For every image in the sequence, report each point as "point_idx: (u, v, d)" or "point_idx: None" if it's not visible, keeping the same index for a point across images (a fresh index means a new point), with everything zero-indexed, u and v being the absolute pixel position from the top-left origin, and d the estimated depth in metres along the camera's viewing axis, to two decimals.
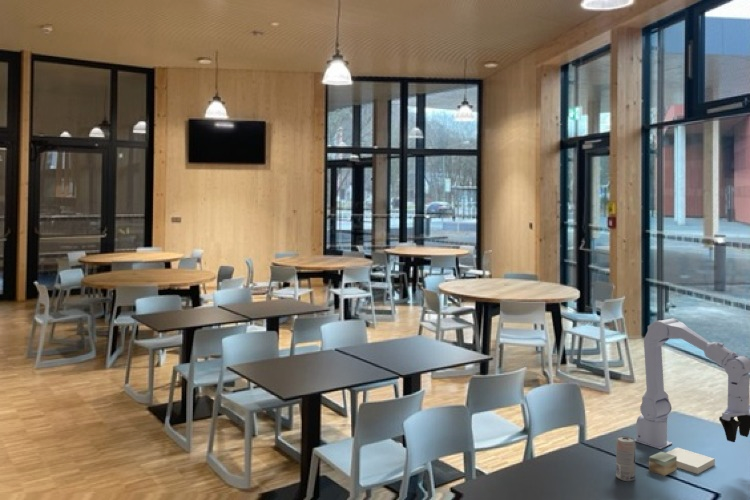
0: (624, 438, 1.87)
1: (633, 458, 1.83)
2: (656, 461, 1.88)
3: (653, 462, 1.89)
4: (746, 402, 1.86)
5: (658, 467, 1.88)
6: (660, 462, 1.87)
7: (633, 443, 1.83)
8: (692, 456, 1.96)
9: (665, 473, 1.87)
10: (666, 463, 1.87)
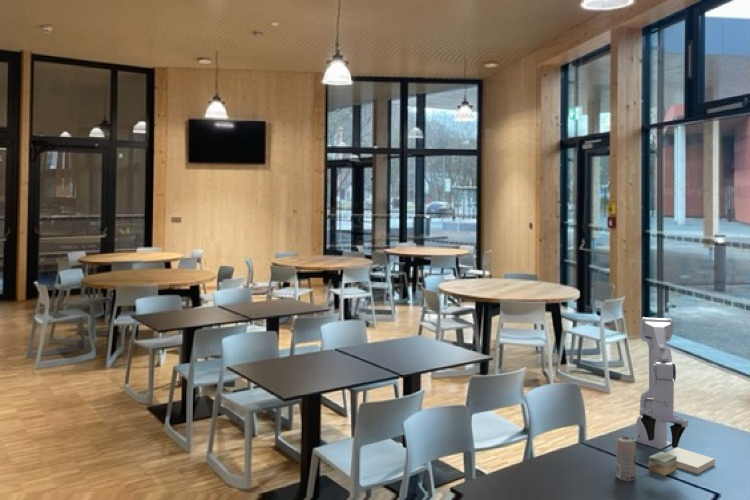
0: (624, 438, 1.87)
1: (633, 458, 1.83)
2: (656, 461, 1.88)
3: (653, 462, 1.89)
4: (656, 406, 1.88)
5: (658, 467, 1.88)
6: (660, 462, 1.87)
7: (633, 443, 1.83)
8: (692, 456, 1.96)
9: (665, 473, 1.87)
10: (666, 463, 1.87)
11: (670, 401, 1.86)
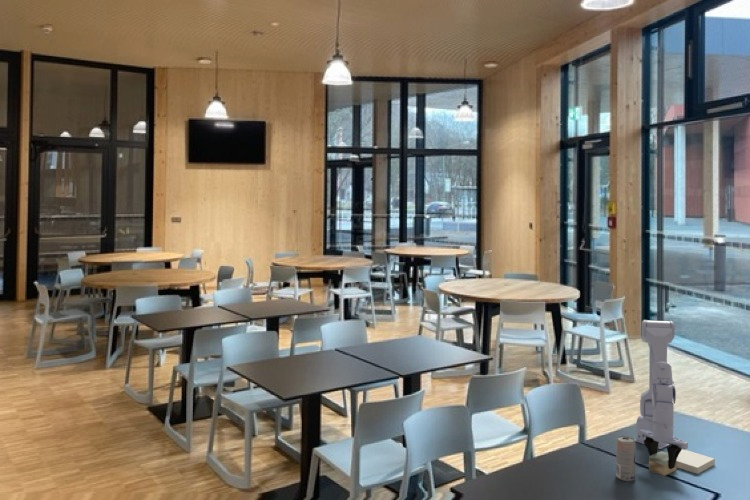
0: (624, 438, 1.87)
1: (633, 458, 1.83)
2: (656, 461, 1.88)
3: (653, 461, 1.89)
4: (656, 428, 1.89)
5: (658, 467, 1.88)
6: (660, 462, 1.87)
7: (633, 443, 1.83)
8: (692, 456, 1.96)
9: (665, 473, 1.87)
10: (666, 463, 1.87)
11: (670, 423, 1.87)
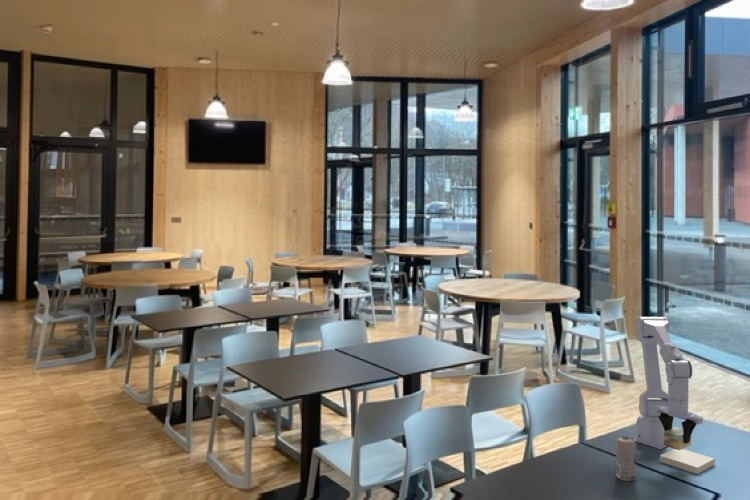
0: (624, 438, 1.87)
1: (633, 458, 1.83)
2: (671, 435, 1.91)
3: (668, 436, 1.92)
4: (671, 403, 1.91)
5: (673, 442, 1.90)
6: (675, 436, 1.90)
7: (633, 443, 1.83)
8: (692, 456, 1.96)
9: (680, 447, 1.89)
10: (681, 437, 1.89)
11: (686, 398, 1.90)
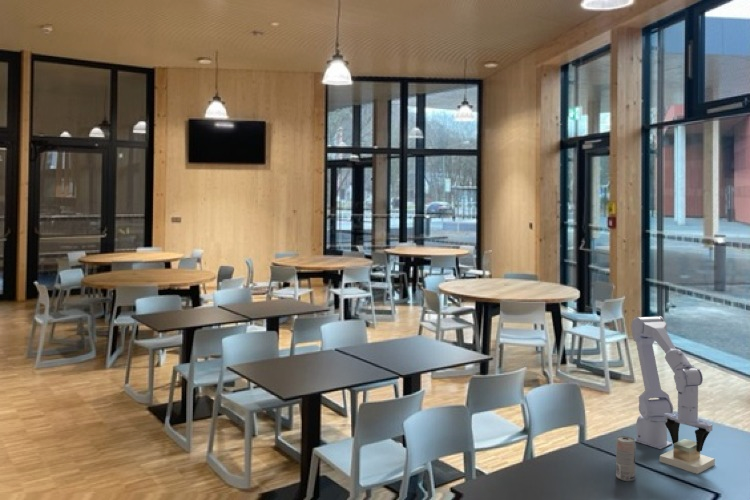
0: (624, 438, 1.87)
1: (633, 458, 1.83)
2: (680, 448, 1.93)
3: (677, 448, 1.94)
4: (681, 411, 1.93)
5: (683, 454, 1.92)
6: (684, 448, 1.92)
7: (633, 443, 1.83)
8: None
9: (689, 459, 1.91)
10: (690, 449, 1.91)
11: (697, 405, 1.92)
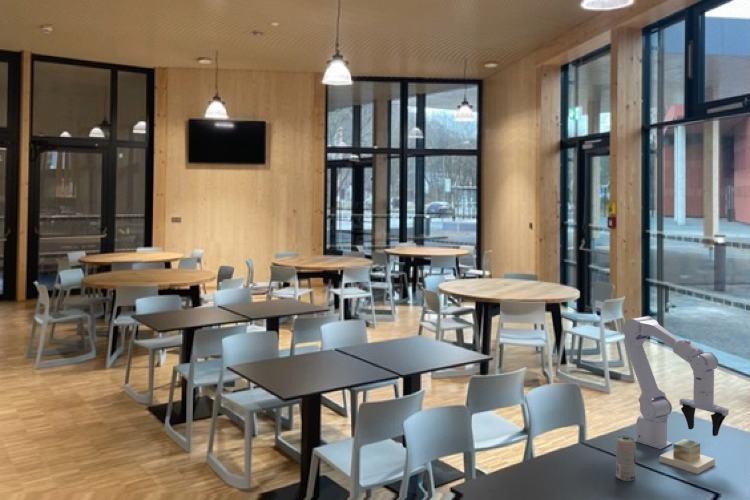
0: (624, 438, 1.87)
1: (633, 458, 1.83)
2: (680, 448, 1.93)
3: (677, 448, 1.94)
4: (697, 395, 1.95)
5: (683, 454, 1.92)
6: (684, 448, 1.92)
7: (633, 443, 1.83)
8: None
9: (689, 459, 1.91)
10: (690, 449, 1.91)
11: (713, 389, 1.95)
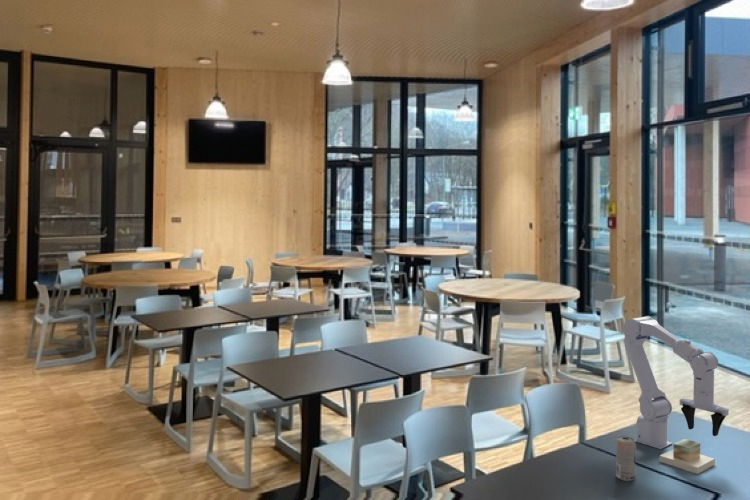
0: (624, 438, 1.87)
1: (633, 458, 1.83)
2: (680, 448, 1.93)
3: (677, 448, 1.94)
4: (697, 395, 1.95)
5: (683, 454, 1.92)
6: (684, 448, 1.92)
7: (633, 443, 1.83)
8: None
9: (689, 459, 1.91)
10: (690, 449, 1.91)
11: (713, 389, 1.95)
